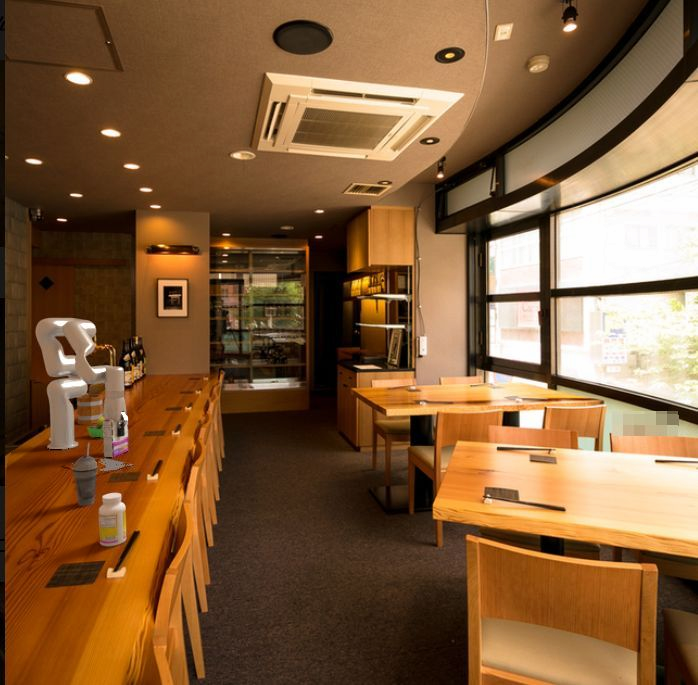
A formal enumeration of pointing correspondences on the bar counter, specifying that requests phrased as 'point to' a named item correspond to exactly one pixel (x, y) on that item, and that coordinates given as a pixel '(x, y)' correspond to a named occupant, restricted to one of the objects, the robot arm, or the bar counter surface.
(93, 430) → the fruit basket
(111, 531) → the supplement bottle
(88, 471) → the beverage cup
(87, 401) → the mug
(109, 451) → the candy bar box
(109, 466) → the mat
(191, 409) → the bar counter surface
